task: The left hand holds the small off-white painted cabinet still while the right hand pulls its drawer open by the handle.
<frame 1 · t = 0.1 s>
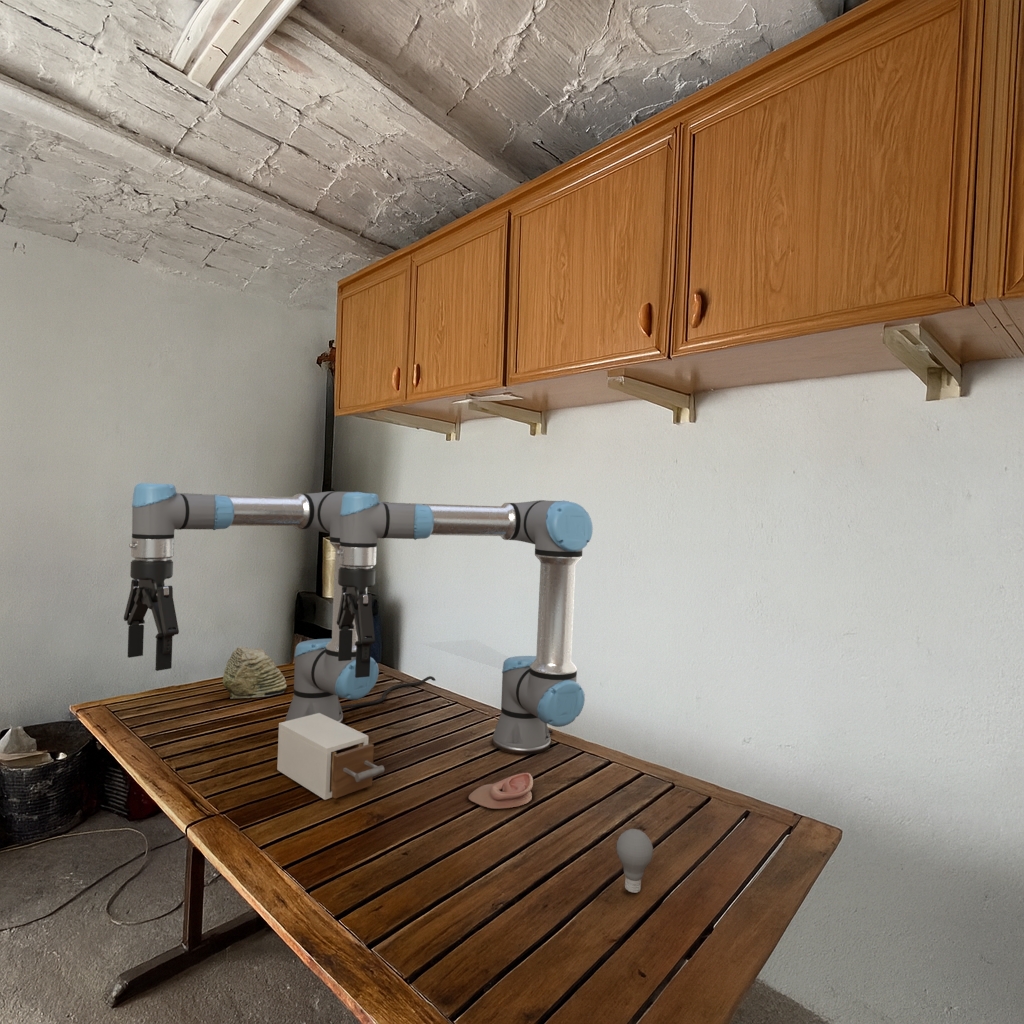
left hand: (148, 662, 129), 28 cm above the table, tool pointing down, fingers open, 13 cm apart
right hand: (353, 668, 132), 28 cm above the table, tool pointing down, fingers open, 13 cm apart
cabinet: (321, 777, 143), on the table
anatomical model: (500, 797, 137), on the table
light bulb: (632, 891, 106), on the table
drawer: (338, 762, 139), point 5 cm above the table, slide at 1.6 cm
fossil: (254, 694, 198), on the table
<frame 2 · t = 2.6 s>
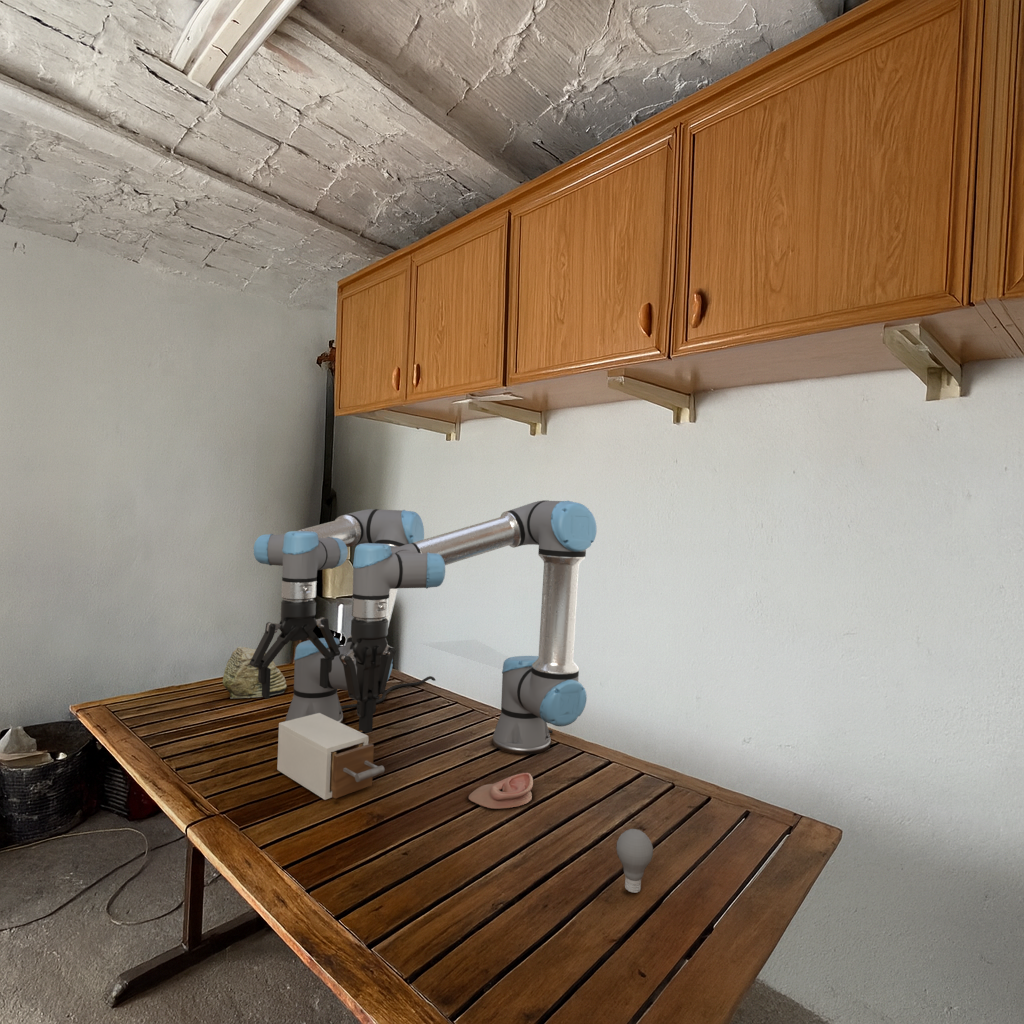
left hand: (295, 692, 145), 18 cm above the table, tool pointing down, fingers open, 13 cm apart
right hand: (365, 730, 132), 15 cm above the table, tool pointing down, fingers closed
nothing on the table moved.
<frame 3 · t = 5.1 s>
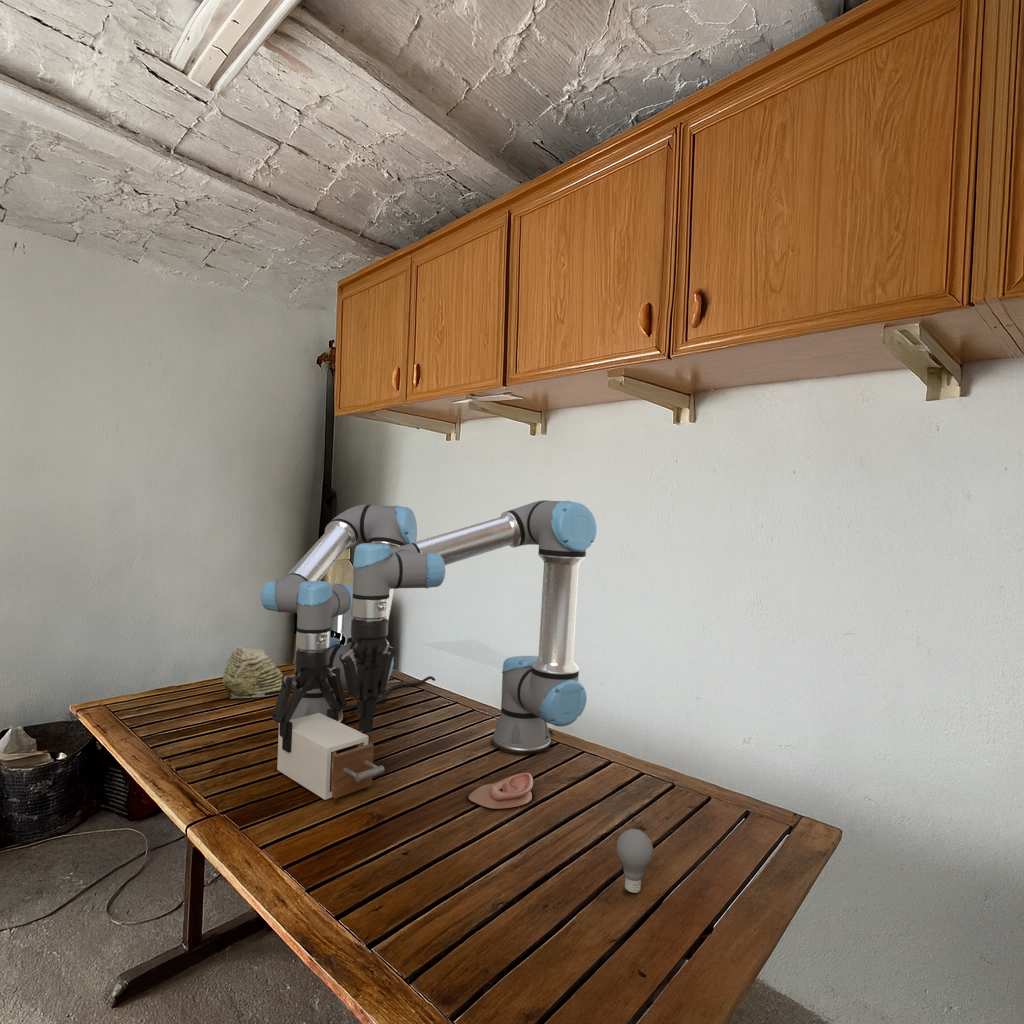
left hand: (309, 743, 146), 6 cm above the table, tool pointing down, fingers closed on cabinet, 10 cm apart
right hand: (365, 730, 132), 15 cm above the table, tool pointing down, fingers closed
cabinet: (321, 777, 143), on the table, touching left hand
everything else where it was.
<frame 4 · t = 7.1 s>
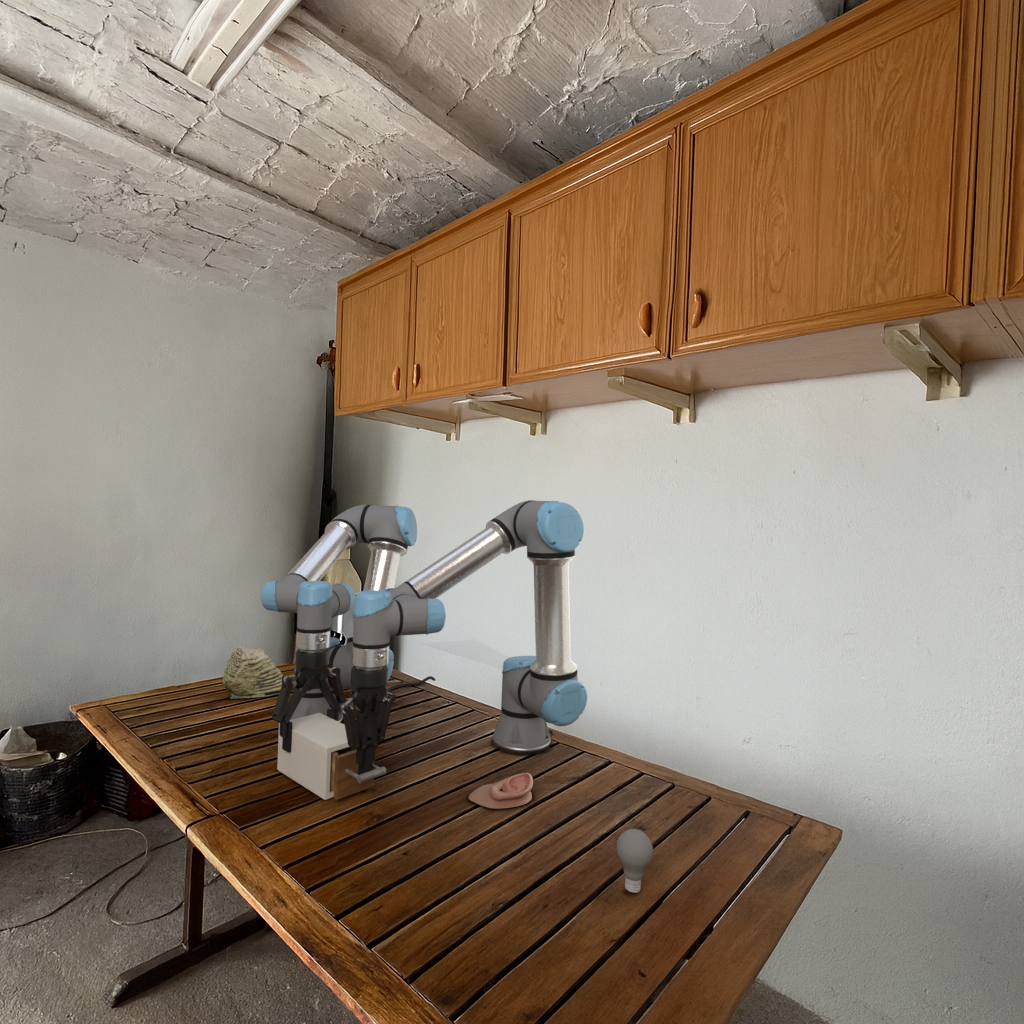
left hand: (309, 743, 146), 6 cm above the table, tool pointing down, fingers closed on cabinet, 10 cm apart
right hand: (364, 778, 132), 5 cm above the table, tool pointing down, fingers closed
cabinet: (321, 777, 143), on the table, touching left hand
drawer: (339, 763, 138), point 5 cm above the table, slide at 2.3 cm, touching right hand
everything else where it was.
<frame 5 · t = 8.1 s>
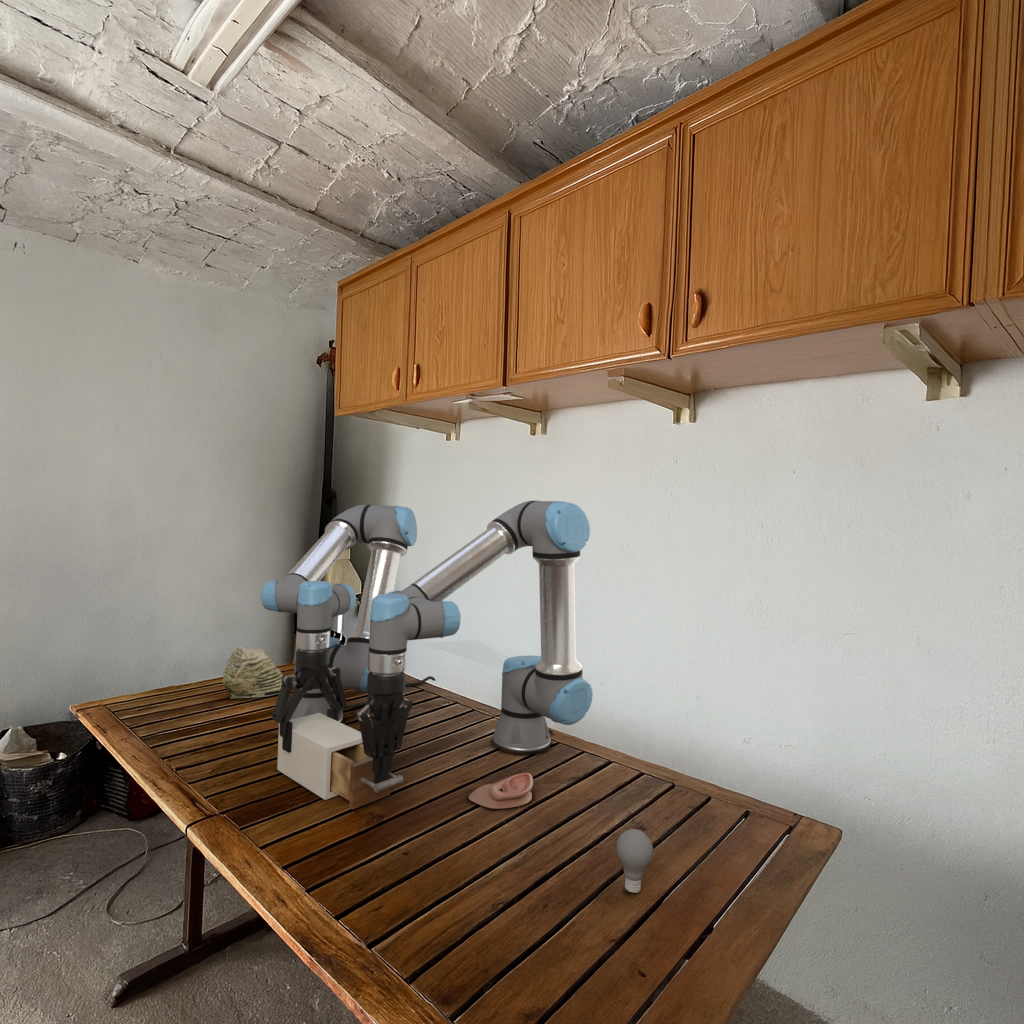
left hand: (309, 743, 146), 6 cm above the table, tool pointing down, fingers closed on cabinet, 10 cm apart
right hand: (381, 787, 128), 5 cm above the table, tool pointing down, fingers closed
cabinet: (321, 777, 143), on the table, touching left hand
drawer: (354, 771, 134), point 5 cm above the table, slide at 7.8 cm, touching right hand
everything else where it was.
when the left hand's fingers open (6 cm above the table, at t = 9.7 s): cabinet stays where it is, on the table.
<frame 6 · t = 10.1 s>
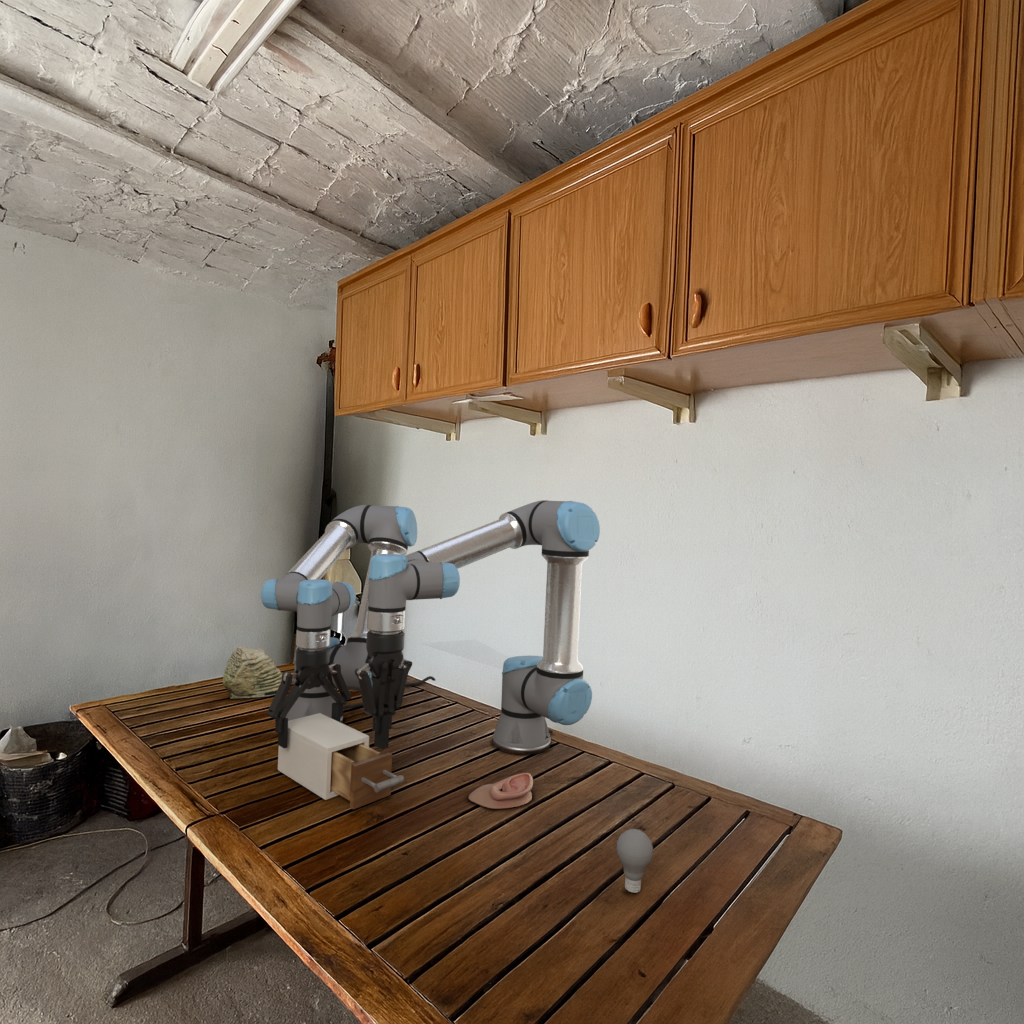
left hand: (309, 738, 147), 7 cm above the table, tool pointing down, fingers open, 13 cm apart
right hand: (381, 746, 129), 13 cm above the table, tool pointing down, fingers closed
cabinet: (321, 777, 143), on the table
drawer: (355, 771, 134), point 5 cm above the table, slide at 7.8 cm
everything else where it was.
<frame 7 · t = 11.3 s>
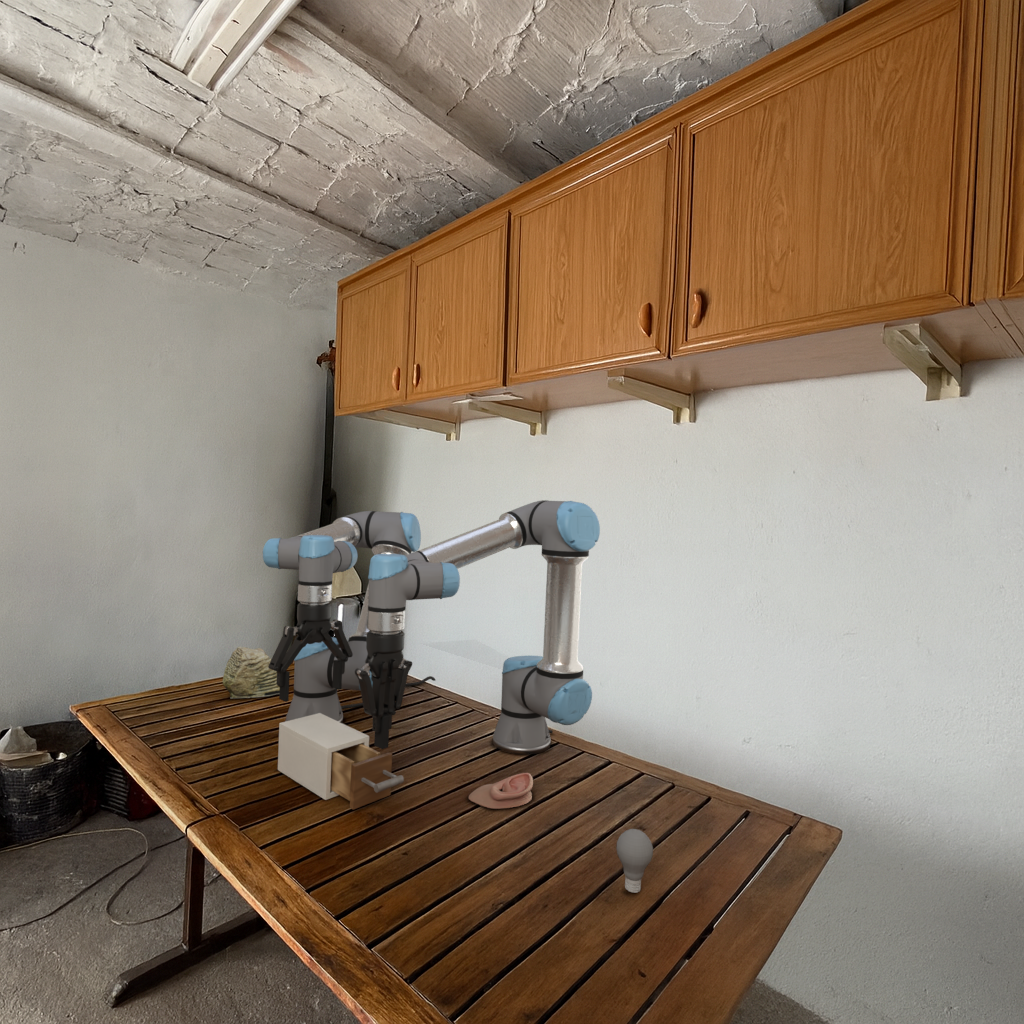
left hand: (311, 694, 146), 18 cm above the table, tool pointing down, fingers open, 13 cm apart
right hand: (381, 746, 129), 13 cm above the table, tool pointing down, fingers closed
nothing on the table moved.
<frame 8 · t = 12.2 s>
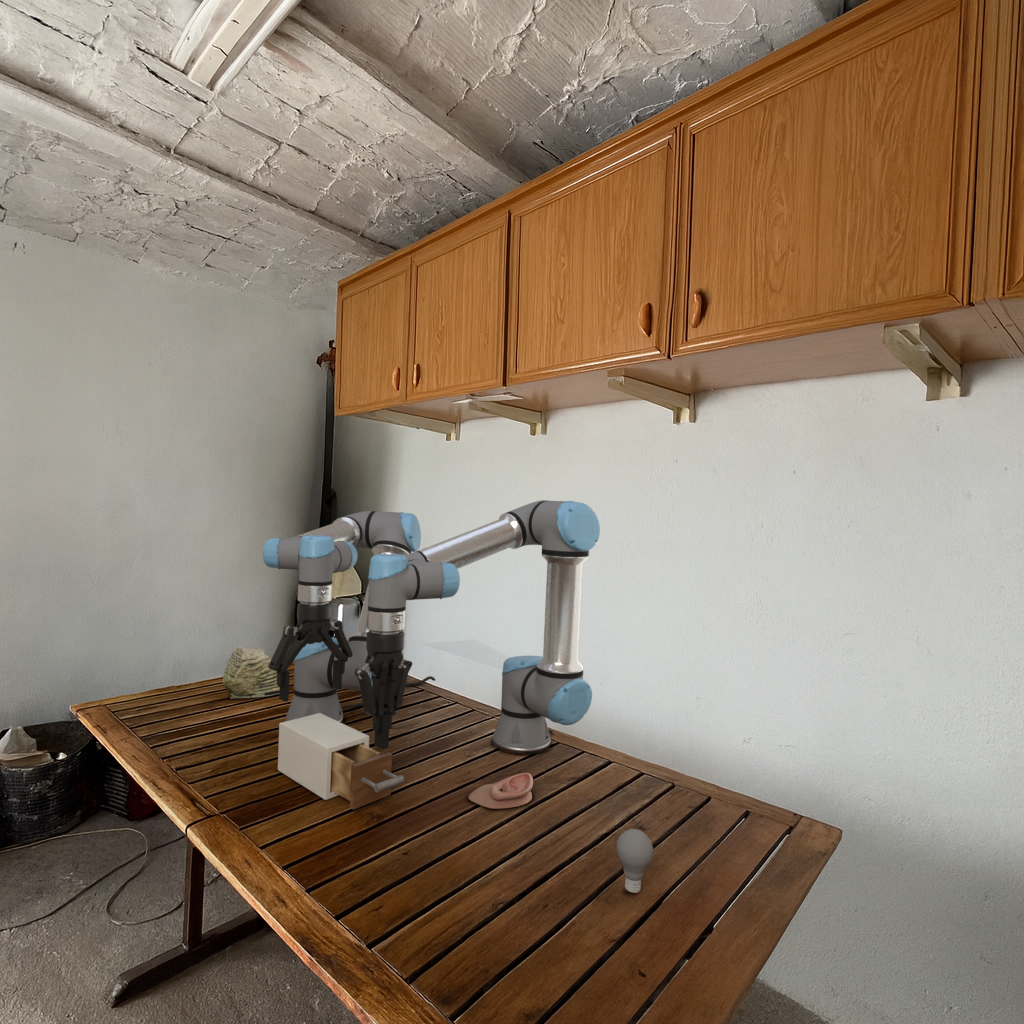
left hand: (311, 694, 146), 18 cm above the table, tool pointing down, fingers open, 13 cm apart
right hand: (381, 746, 129), 13 cm above the table, tool pointing down, fingers closed
nothing on the table moved.
at the end: drawer slide at 7.8 cm; cabinet tilted 0°; cabinet never tilted more than 1° during the clip; cabinet moved 0.1 cm from its start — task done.
